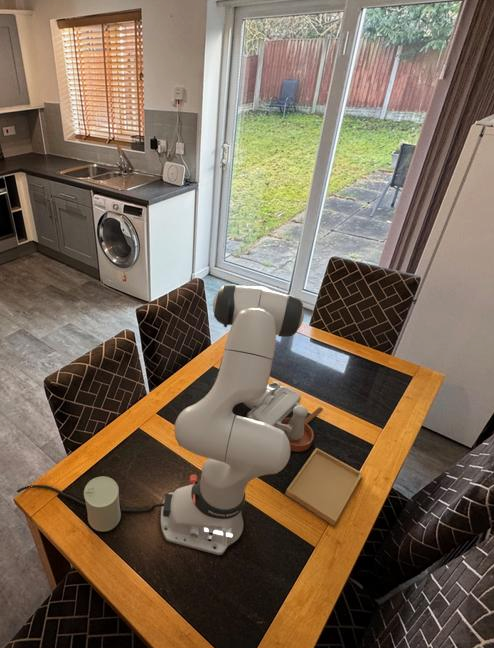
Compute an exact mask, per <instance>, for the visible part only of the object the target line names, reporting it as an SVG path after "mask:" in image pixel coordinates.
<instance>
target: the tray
mask: <svg viewBox="0 0 494 648" xmlns="http://www.w3.org/2000/svg"><path fill="white" fill-rule="evenodd" d="M363 474H364V473H363V472H361V471H359V470H358V469H356V468H354V467H352V466H350V465H349V464H347V463H345V462H343V461H342V460H340V459H337V458H336V457H335V456H333V455H331V454H329V453H327V452H326V451H323V450H321V449H320V448H318V447H315V449H314V450H313V451H312V453H311V455H310V456H309V457H308V459H307V460H306V461H305V463H304V464H303V466H302V467H301V468H300V469H299V471H298V473H296V476H295V477H294V478H293V480H292V481H291V482H290V484H289V485H288V487H287V488H286V490H285V492H284V495H285V496H287V497H288V498H290V499H291V500H293V501H294V502H296V503H298V504H299V505H301V507H304V508H305V509H307V510H308V511H310V512H311V513H313V514H314V515H316V516H318V517H319V518H320V519H322V520H323V521H325V522H327V523H328V524H329V525H331V526H332V527H334V526H335V525H336V523H337V521H339V518H340V516H341V514H342V512H343V511H344V509H345V507H346V505H347V503H348V502H349V500H350V498H351V496H352V495H353V493H354V490H355V489H356V487H357V485H358V483H359V482H360V480H361V478H362V476H363Z"/></svg>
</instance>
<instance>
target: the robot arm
mask: <svg viewBox="0 0 494 648" xmlns="http://www.w3.org/2000/svg"><path fill="white" fill-rule="evenodd" d="M212 310H213V311H212V312H213V317H214V318H215V320H216V321H217V322H218V323H220V324H222V326H223V327H224V328H227V327H228V326H230V329H229V332H228V334H227V338H226V342H225V345H224V349H223V355H222V359H221V361H220V364H219V368H218V371H217V373H216V374H217V375H216V377H214V378H213V379H212V380H211V381H210V390H209V392H208V393H206V395H205V396H204V397H202V398H201V399H200V400H199V401H197V402H196V403H194V404H192V405H189V406H188V407H185V408H184V409H183V410H182V411H181V412H180V413H179V414H178V416H177V418H176V419H175V422H174V437H175V440H176V443H177V444H178V446H179V447H181V448H182V449H184V450H186V451H188V452H190V453H192V454H194V455H197V456H199V457H204V458H206V460H205V462H204V463H203V464H202V467H201V474H200V475H201V476H200V479H199V480H198V475H196V474H195V473H193V474H191V475H189V485H184V486H181V487H177V489H175V491H174V492H173V491H172V492H168V493H165V495H164V498H163V500H162V503H155V504H153V505H152V506H151V507H149V508H143V509H142V508H141V509H132V508H120V511H121V513H122V512H125V513H147V512H152V511H154V510H155V508H160V507H161V508H160V529H161V533H162V535H163V537H164V539H165V541H167V542H169V543H172V544H177V545H180V546H184V547H187V548H191V549H194V550H198V551H202V552H206V553H209V554H213V555H217V556H223V554H224V553H225V552H226V550H227V548H228V547H229V546H231V545H233V544H234V543H235V542H236V541H238V539H239V538H240V537H241V535H242V533H243V531H244V518H243V515H242V513H243V512H242V511H243V509H244V506H245V503H246V489H247V486H248V484H249V483H250V482H251V481H253V480H254V479H256V478H259V477H262V476H267V475H276V474H278V473H279V472H281V471H282V470H284V468H285V467H286V466H287V464H288V462H289V460H290V457H291V451H290V443H289V440H288V437H287V436H286V434H285V432H284V431H282V430H286V431H288V432H291V431H292V430H293V426H291V425H290V424H288V425H285V424H281V423H282V422H281V421H282V420H283V419H284V418H287V416H288V415H290V413H291V412H293V409H294V408H295V406H299V405H301V406H302V403H300V402H301V399H302V396H301V394H300V393H299V392H298V391H295V390H293V389H292V388H290V387H288V386H285V385H281V383H279V382H278V381H273V382H271V383H269V381H270V376H271V371H272V367H273V363H274V362H273V360H274V356H275V351H276V341H277V336H278V337H280V338H281V337H283V338H284V337H287V338H288V337H292V336H293V335H295V334H296V333H297V332H298V330H299V329H300V327H301V326H302V324H303V321H304V317H305V310H304V304H303V302H302V299H300V298H299V297H297V296H295V295H292V294H284V293H280V292H277V291H274V290H271V289H269V288H267V287H266V286H258V285H256V286H249V285H248V286H247V285H237V284H235V283H234V284H233V283H228V284H223V285H222V286H221V287H219V289H218V291H217V293H216V294H215V296H214V298H213V302H212ZM241 403H243V405H245V406H246V407H247V408H249V409H250V410H249V411H248V412H247V413H246V416H245V417H244V416H241V415H237V414H235V413H234V412H233V409H234V408H235V406H237V405H238V404H241ZM32 485H33V486H32ZM31 486H32V487H31ZM29 487H30V488H29ZM34 488H37V489H40V488H41V489H48V490H51V491H53V492H55V493H58V494H59V495H61V496H63V497H66V498H67V499H69V500H72V501H74V502H76V503H78V504H79V505H82V506H84V507H86V502H85V501H84V502H83V501H82V500H80V499H78V498H76V497H74V496H72V495H70V494H67V493H65V492H63V491H61V490H59V489H57V488H55V487H53V486H49V485H43V484H31V485H30V484H29V485H26V486H23V487H21V488H19V489H17V491H16V493H21V492H22V491H25V490H28V489H34Z"/></svg>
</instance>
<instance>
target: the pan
mask: <svg viewBox="0 0 494 648" xmlns="http://www.w3.org/2000/svg"><path fill="white" fill-rule="evenodd" d="M291 418H292V417H285V418H284V419H283V420H282V421H281V422H282V423H281V424H285V425H288V423H289V422H290V420H291ZM282 431H284V432H285V430H282ZM285 434H286V433H285ZM314 436H315V434H314V431H313V429H312V428H311V426H310V425H309V424H306V423H305V422H304V435H303V437H302V438H301V439H299V440H298V441H290V440H289V439H288V440H289V443H290V452H295V453H300V452H301V453H302V452H304V451H305V452H306V451H307V450H309V449H310V448H311V446H312V443H313V442H314Z"/></svg>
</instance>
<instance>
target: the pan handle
mask: <svg viewBox="0 0 494 648" xmlns="http://www.w3.org/2000/svg"><path fill="white" fill-rule="evenodd" d="M323 411H324V408H323V407H321V406H318V407H317V408H316V409H315V410H314V411H313V412H312V413H310V414H309V415H307V416H306V417H305V420H304V422H305V423H306V424H307V425H309V423H311V422H312V421H313V420H314V419H315V418H316V417H317V416H319V415H320V414H321V413H322V412H323Z"/></svg>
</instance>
